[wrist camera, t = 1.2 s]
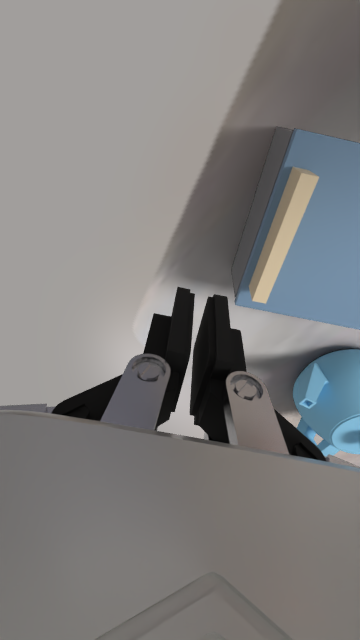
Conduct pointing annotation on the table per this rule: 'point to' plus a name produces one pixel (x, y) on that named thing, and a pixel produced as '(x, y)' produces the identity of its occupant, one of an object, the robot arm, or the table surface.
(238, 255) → the base
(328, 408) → the teapot
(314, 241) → the lid
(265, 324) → the table surface
